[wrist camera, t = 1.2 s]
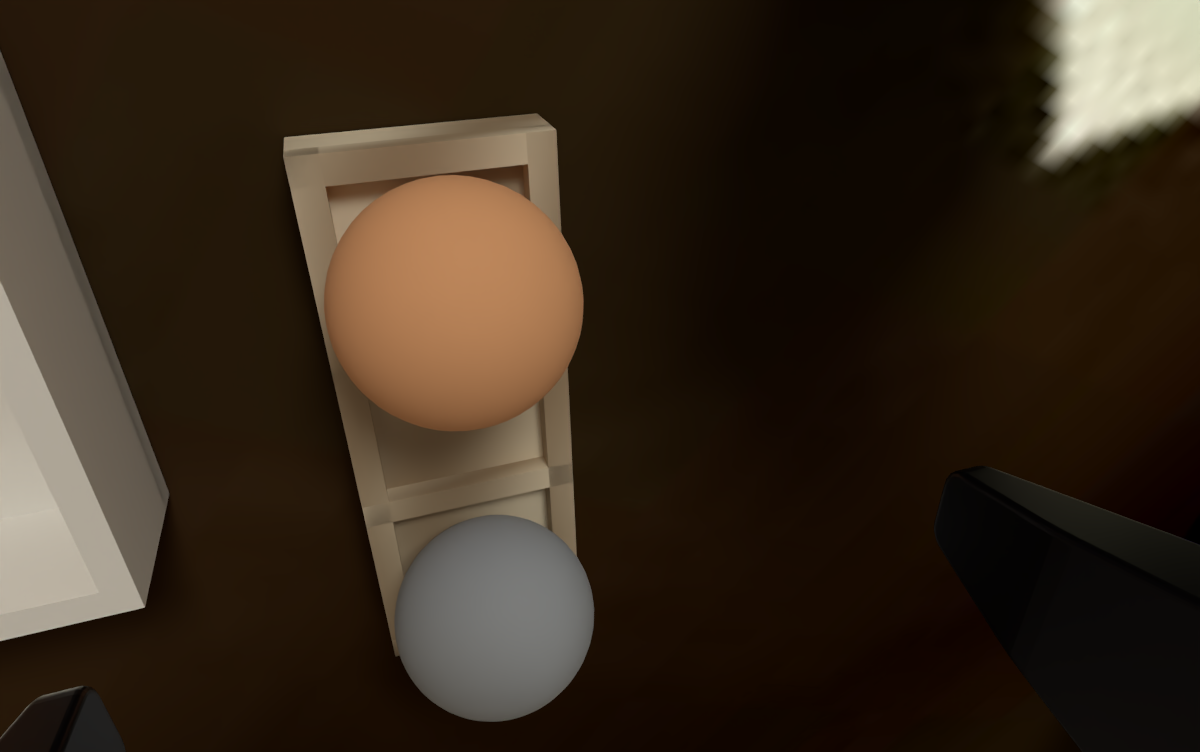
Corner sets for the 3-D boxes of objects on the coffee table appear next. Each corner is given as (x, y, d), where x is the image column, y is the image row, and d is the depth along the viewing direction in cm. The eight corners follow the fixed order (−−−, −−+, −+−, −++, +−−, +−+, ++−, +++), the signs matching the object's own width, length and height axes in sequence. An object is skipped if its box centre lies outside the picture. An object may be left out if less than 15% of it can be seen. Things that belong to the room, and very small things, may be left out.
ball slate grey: (559, 459, 20) (621, 587, 16) (566, 591, 22) (622, 730, 18) (370, 499, 19) (390, 648, 15) (399, 634, 21) (422, 792, 17)
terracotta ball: (540, 135, 16) (617, 206, 12) (552, 339, 18) (619, 452, 14) (297, 159, 15) (297, 247, 11) (343, 375, 17) (358, 508, 13)
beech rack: (536, 113, 17) (555, 129, 15) (563, 570, 23) (579, 607, 22) (284, 137, 15) (283, 157, 14) (390, 614, 22) (395, 656, 21)
